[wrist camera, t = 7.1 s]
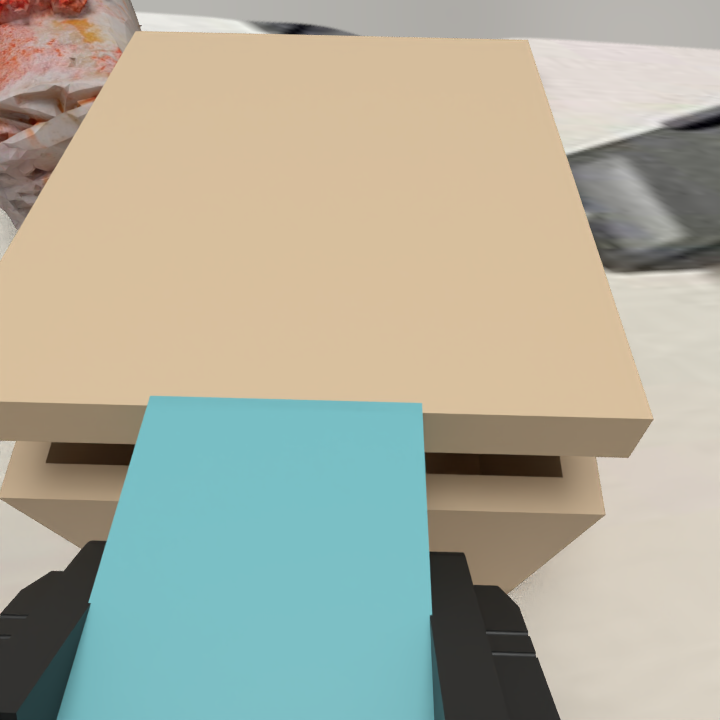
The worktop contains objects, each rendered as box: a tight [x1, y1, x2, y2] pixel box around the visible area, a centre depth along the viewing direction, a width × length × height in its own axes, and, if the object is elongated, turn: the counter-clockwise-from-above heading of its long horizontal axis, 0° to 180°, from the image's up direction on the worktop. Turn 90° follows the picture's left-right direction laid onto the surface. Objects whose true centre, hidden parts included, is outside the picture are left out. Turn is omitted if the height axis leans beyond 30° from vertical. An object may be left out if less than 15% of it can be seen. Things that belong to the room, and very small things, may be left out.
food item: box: [0, 0, 142, 230], centre depth 29 cm, size 14×8×10 cm, turn 18°
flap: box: [0, 31, 653, 720], centre depth 13 cm, size 12×21×1 cm, turn 178°
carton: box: [0, 441, 605, 594], centre depth 21 cm, size 13×14×10 cm
